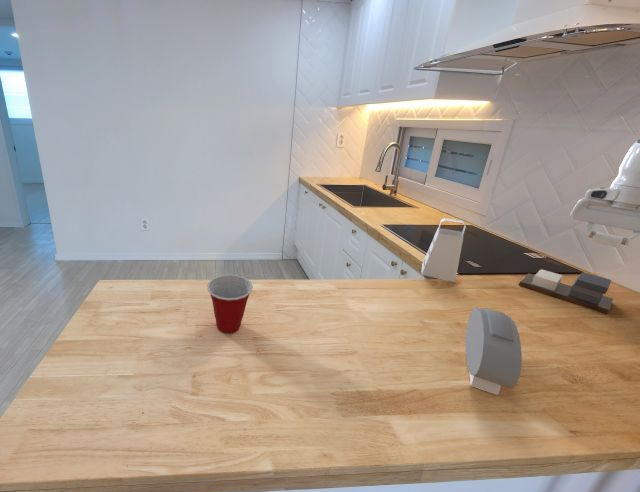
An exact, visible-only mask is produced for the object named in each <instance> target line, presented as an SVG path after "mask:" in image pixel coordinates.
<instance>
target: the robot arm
mask: <svg viewBox="0 0 640 492" xmlns="http://www.w3.org/2000/svg"><path fill="white" fill-rule="evenodd" d="M569 217H570V218H571V220H575V221H579V222H580V221H581V222H585V223H587V225H586V228H587V231H588V233H587V235H586V237H587V238H590V239H592V238H593V236H594V235H595V234H596V232H597V231H594V230H593V227H594V226H595V224H596V225H602V226H607V227H612V228H617V229H622V230H627V231H631V235H630V236H629V237H624V238H623V239H622V243H621V245H622V246H623V245H624V246H628V245H629V243H630V241H632V240H634V239H636V238H637V237H639V236H640V139H638V140H635V142H634V143H633V144H632V145H631V146H630V148H629V149H628V151H627V152H626V154H625V155H624V157H623V159H622V161H621V162H620V166H619V168H618V174H617V176H616V177H615V179H613V181H612V183H610V186H607V187H606V186H605V187H604V186H603V187H595V188H590V189H587V190H586V191H585V196H584V197H581V199H579V200H578V201H577V203H576V204H575V205H574V207H573V209H572V210H571V212H570V214H569Z"/></svg>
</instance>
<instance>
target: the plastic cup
mask: <svg viewBox="0 0 640 492" xmlns="http://www.w3.org/2000/svg"><path fill="white" fill-rule="evenodd" d="M206 288H207V292H208V293H209V294H210V295H209V296H210V298H211V302H212V308H213V313H214V318H215V323H216V328H217V330H218V331H219V332H221V333H224V334H234V333H236V332H237V331H239V330H240V327H241V324H242V321H243V318H244V315H245V311H246V306H247V303H248V299H249V296H250V295H251V293H252V291H253V289H254V287H253V284H252V281H251V280H249V279H248V278H247V277H244V276H241V275H236V274H222V275H218V276H215V277H214V278H212V279H210V280H209V281H208V283H207V284H206Z"/></svg>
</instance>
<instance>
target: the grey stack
mask: <svg viewBox="0 0 640 492" xmlns="http://www.w3.org/2000/svg"><path fill="white" fill-rule="evenodd" d="M611 284H612V279H610V278H605V277H602V276H599V275H595V274H592V273H587V272H583V271H581V273H580V274H579V276H576V279H575V280H574V282H573V283H572V285H571V286H572V287H571V289H570V290H571V291H570V293H569V295H568V296H571V297H574V298H577V299H581V300H584V301H587V302H590V303H593V304H596V305H599V303H600V301H601V299H602V297H603V296H604V295H606V293H607V292H608V290H609V288H610V285H611Z"/></svg>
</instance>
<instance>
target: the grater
mask: <svg viewBox="0 0 640 492" xmlns="http://www.w3.org/2000/svg"><path fill="white" fill-rule="evenodd" d="M445 221H447V222H452V223H453V222H454V223H459V224H463V228H462V230H461V231H460V230H453V229H448V228H442V227H441V224H442V223H443V222H445ZM466 228H467V225H466V224H465V222H464V220H460V219H454V218H447V217H443V218H442V219H440V222H439V224H438V227H437V229H436V231H435V233H434V236H433V239H432V241H431V243H430V245H429V248H428V250H427V252H426V254H425V256H424V258H423V261H422V264H421V276H424V277H429V278H434V279H438V280H443V281H447V282H451V283H456V282H457V281H456V280H457V275H458V269H459V264H460V258H461V253H462V247H463V243H464V234H465V231H466Z"/></svg>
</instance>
